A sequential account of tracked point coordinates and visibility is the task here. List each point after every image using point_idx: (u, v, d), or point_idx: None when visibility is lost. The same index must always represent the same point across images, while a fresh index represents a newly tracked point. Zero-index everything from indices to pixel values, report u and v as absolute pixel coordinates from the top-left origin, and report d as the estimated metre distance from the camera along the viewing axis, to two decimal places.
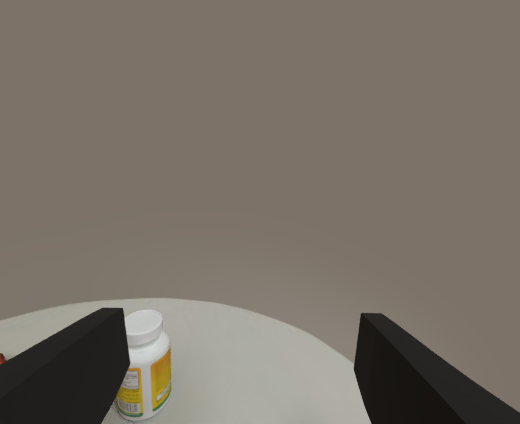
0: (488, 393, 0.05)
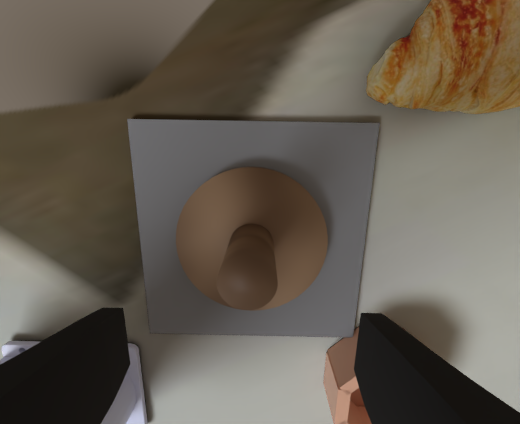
0: (488, 393, 0.05)
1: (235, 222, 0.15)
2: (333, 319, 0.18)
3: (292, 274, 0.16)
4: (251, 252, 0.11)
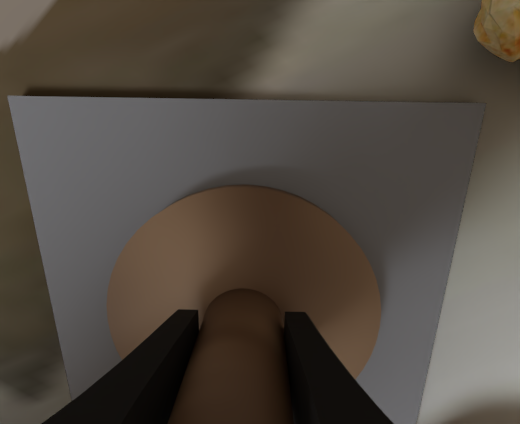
0: (361, 390, 0.05)
1: (213, 286, 0.08)
2: None
3: None
4: None
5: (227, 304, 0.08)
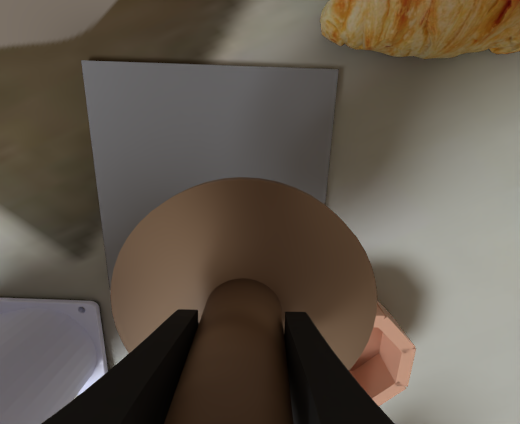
0: (361, 390, 0.05)
1: (212, 277, 0.09)
2: None
3: None
4: (233, 401, 0.05)
5: (226, 293, 0.08)
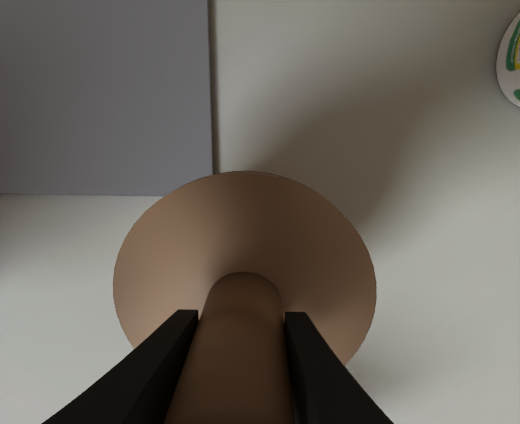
0: (361, 390, 0.05)
1: (211, 272, 0.09)
2: (183, 169, 0.13)
3: None
4: (231, 389, 0.05)
5: (225, 287, 0.08)
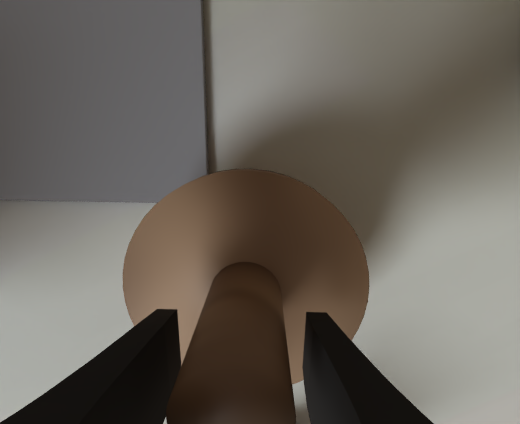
0: (397, 391, 0.05)
1: (215, 262, 0.09)
2: (174, 173, 0.12)
3: None
4: (235, 352, 0.05)
5: (228, 275, 0.09)
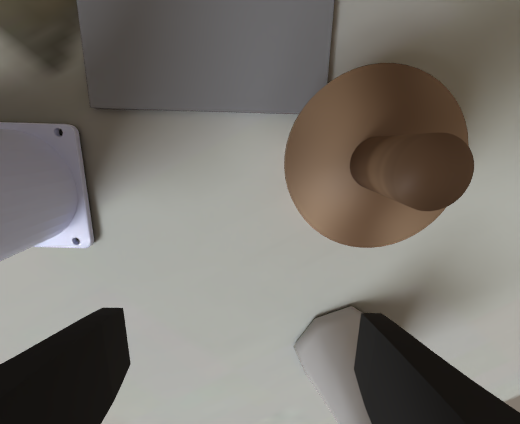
0: (488, 393, 0.05)
1: (357, 136, 0.13)
2: (301, 87, 0.15)
3: None
4: None
5: (375, 138, 0.12)
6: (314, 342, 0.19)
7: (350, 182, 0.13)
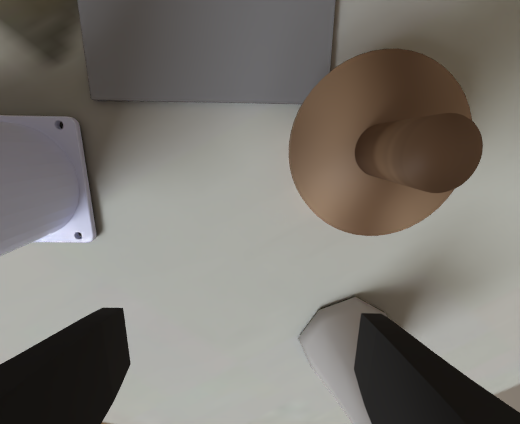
0: (488, 393, 0.05)
1: (362, 123, 0.13)
2: (304, 77, 0.15)
3: None
4: (445, 114, 0.09)
5: (380, 124, 0.12)
6: (319, 333, 0.19)
7: (355, 170, 0.13)
